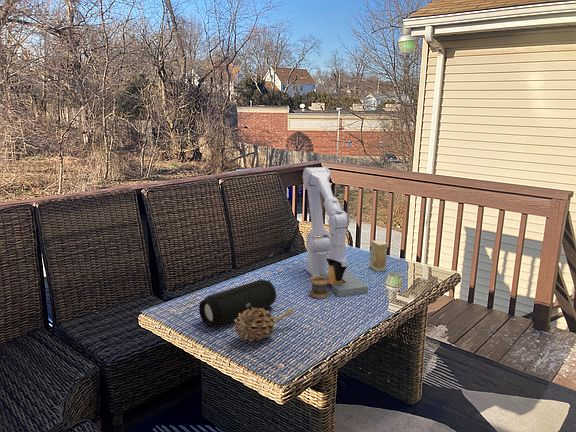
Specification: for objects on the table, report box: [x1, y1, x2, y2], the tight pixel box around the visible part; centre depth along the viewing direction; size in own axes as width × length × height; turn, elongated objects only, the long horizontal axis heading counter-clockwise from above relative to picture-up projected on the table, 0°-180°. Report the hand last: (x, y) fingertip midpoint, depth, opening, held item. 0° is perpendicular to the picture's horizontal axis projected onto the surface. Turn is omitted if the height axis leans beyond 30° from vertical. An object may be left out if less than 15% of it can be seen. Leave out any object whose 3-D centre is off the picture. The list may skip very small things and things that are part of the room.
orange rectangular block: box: [328, 264, 342, 286], centre depth 175 cm, size 4×4×7 cm
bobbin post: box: [309, 276, 330, 299], centre depth 169 cm, size 7×7×6 cm
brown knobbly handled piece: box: [233, 307, 295, 342], centre depth 138 cm, size 22×10×10 cm, turn 134°
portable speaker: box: [198, 279, 277, 327], centre depth 150 cm, size 26×10×10 cm, turn 133°
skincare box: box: [369, 239, 389, 273], centre depth 195 cm, size 6×4×12 cm
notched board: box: [320, 270, 369, 297], centre depth 177 cm, size 18×12×2 cm, turn 18°
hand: (336, 278), depth 176 cm, fingers closed on orange rectangular block, 4 cm apart
